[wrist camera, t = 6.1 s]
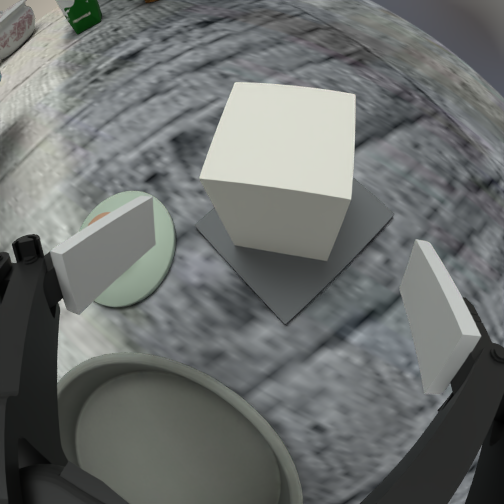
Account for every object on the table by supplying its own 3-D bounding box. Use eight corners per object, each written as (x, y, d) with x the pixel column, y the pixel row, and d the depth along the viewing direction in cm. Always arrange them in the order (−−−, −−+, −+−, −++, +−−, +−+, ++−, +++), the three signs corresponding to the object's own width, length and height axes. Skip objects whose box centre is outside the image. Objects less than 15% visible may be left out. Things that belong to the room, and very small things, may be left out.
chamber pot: (52, 15, 68) (33, -17, 48) (35, 40, 59) (9, 3, 39) (4, 50, 68) (-17, 23, 49) (-17, 83, 59) (-43, 52, 40)
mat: (285, 324, 24) (285, 324, 23) (196, 227, 28) (194, 224, 27) (392, 216, 26) (394, 213, 25) (302, 140, 29) (302, 137, 29)
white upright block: (326, 261, 25) (351, 199, 14) (234, 245, 26) (199, 178, 16) (336, 179, 27) (355, 94, 16) (254, 168, 28) (235, 82, 18)
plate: (110, 332, 26) (105, 331, 25) (63, 246, 29) (59, 244, 28) (200, 249, 27) (198, 246, 26) (138, 174, 31) (135, 171, 30)
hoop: (54, 484, 21) (31, 493, 16) (101, 310, 27) (73, 302, 22) (242, 584, 15) (236, 607, 11) (346, 413, 21) (358, 426, 17)
